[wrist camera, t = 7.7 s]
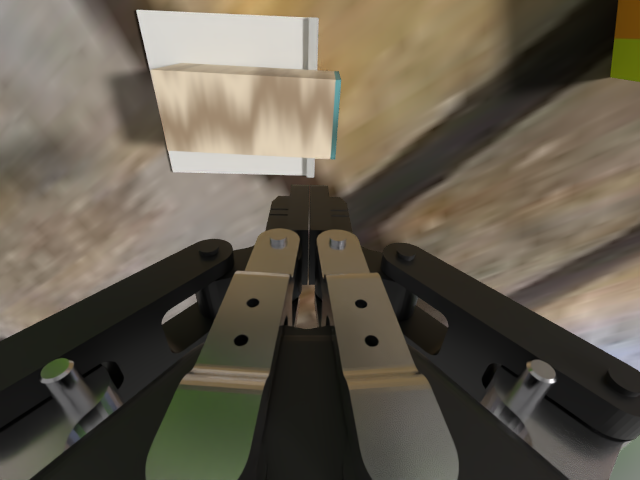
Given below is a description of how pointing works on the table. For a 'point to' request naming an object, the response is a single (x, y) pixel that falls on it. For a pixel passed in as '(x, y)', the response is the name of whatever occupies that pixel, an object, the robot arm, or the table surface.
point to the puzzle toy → (627, 42)
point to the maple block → (248, 110)
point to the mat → (235, 50)
